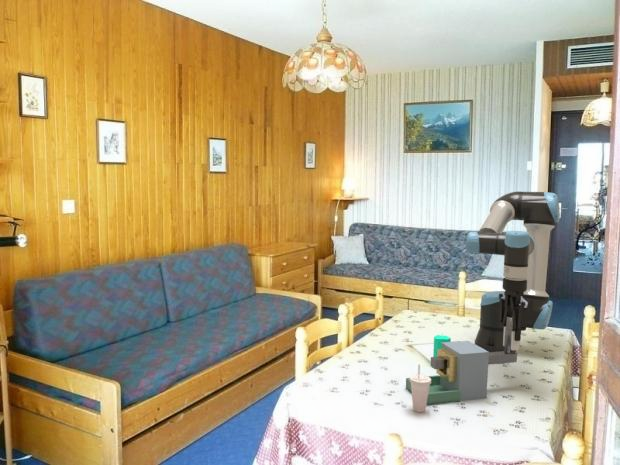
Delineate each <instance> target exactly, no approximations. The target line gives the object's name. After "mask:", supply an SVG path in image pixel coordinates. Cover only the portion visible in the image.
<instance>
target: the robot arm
mask: <svg viewBox="0 0 620 465" xmlns="http://www.w3.org/2000/svg"><path fill="white" fill-rule="evenodd" d="M560 213H561V212H560V201H559V197H558V195H557V194H556V193H554V192H550V191H549V192H548V191H511V192H509V193H506V194H503V195H502V196H500V197H498V198H497V199H496V200H494V202H493V203H492V204H491V206H490V208H489V214H488V215H487V217H486V218H485V220H484V222H483V224H482V225H481V227H480V228H479V230H478V231H470V232H468V233H467V236H466V245H465V246H466V250H467V252H469V253H473V254H474V253H475V254H482V255H483V254H484V255H497V256H499V255H500V256H504V257H503V259H504V260H503V278H502V286H501V287H502V289H503V290H497V291H496V290H494V291H487V292H485V293H483V294H482V295H481V300H480V313H479V314H480V315H479V316H480V318H479V329H478V331H477V334H476V337H475V339H474V344H475V345H477V346H479V347H481V348H483V349H485V350H486V351H488V352H500V351H505V339H506V321H507V316H513V325H514V329H512V337H511V350H516V351H520V344H521V343H520V342H521V340H522V339H521V338H522V332H525V331H526V330H527V329H532V330H546V329H547V327H548V326H549V322H550V320H551V316H552V311H553V306H554V305H553V301H552V300H550V295H549V294H548V293H547V291H546V289H547V288H546V284H547V272H548V263H549V262H548V261H549V251H550V249H549V248H550V238H551V231H552V230H553V229H554V228H555V227H556V224H557V223H559V222H560V219H561V218H560V216H561V214H560ZM510 221H522V222H523V224H522V225H523V226H524V227H525V229H526V231H525V230H523V231H522V230H509V231H507V232H506V233H503V231H505V228H506V226H507V224H508V223H509V222H510Z"/></svg>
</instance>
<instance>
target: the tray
mask: <svg viewBox="0 0 620 465" xmlns="http://www.w3.org/2000/svg"><path fill="white" fill-rule="evenodd" d="M427 376H428V377H430V378H431V384H430V387H429V393H428V399H427V405H426V406H433V405H441V404H450V403H459V402H461V400H460V390H453V391H448V390H446V389H445V388H444V387H443V386H441V385H440V375H439V374H437V375H427ZM405 389H406V390H407V391H408V392H409V393H411V394H412V391H411V382H410V377H406V378H405Z"/></svg>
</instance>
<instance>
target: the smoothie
mask: <svg viewBox="0 0 620 465" xmlns="http://www.w3.org/2000/svg"><path fill="white" fill-rule="evenodd" d="M428 376H429V375H423V374H421V364H420V363H418V364H417V374H413V375H411V376H410V377H409V378H410V382H411V391H412V393H411V400H412V409H413V411H414V412H418V413H424V412H426V410H427V406H428V405H427V399H428V393H429V387H430V384H431V378H430V377H428Z"/></svg>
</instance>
